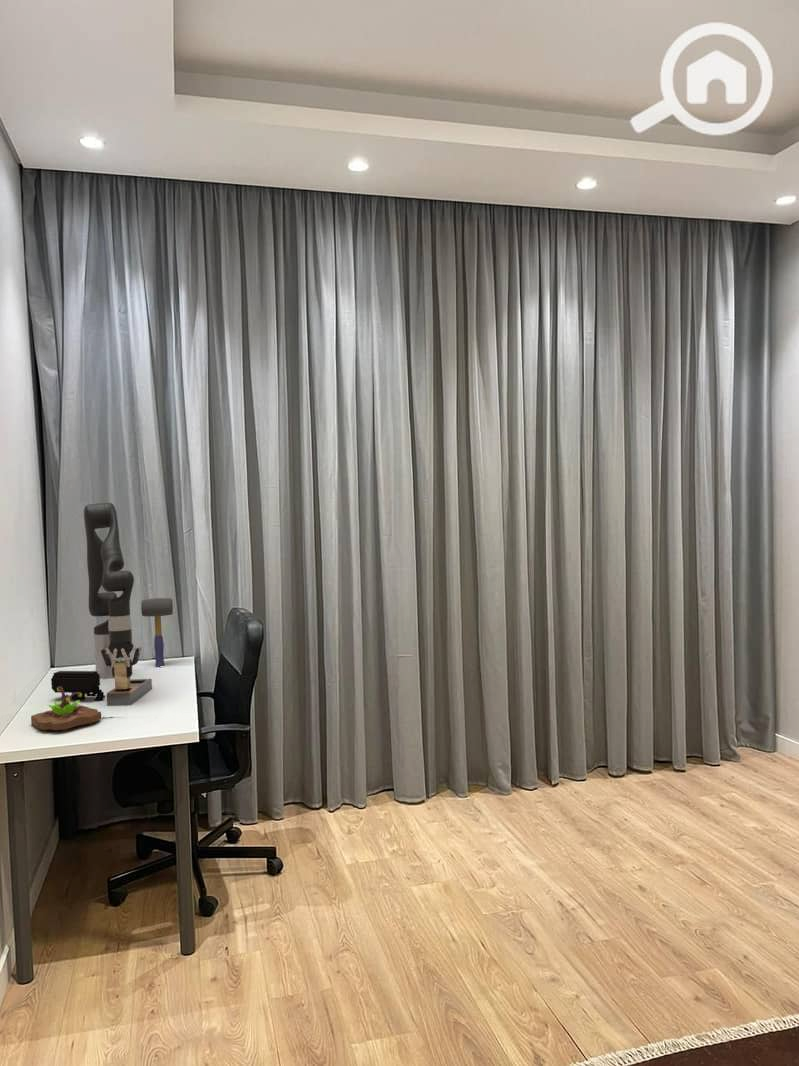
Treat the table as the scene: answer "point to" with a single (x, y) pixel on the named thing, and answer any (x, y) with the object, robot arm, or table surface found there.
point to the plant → (65, 714)
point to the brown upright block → (121, 675)
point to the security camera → (78, 683)
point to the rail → (129, 692)
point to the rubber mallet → (157, 622)
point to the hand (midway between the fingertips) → (122, 677)
